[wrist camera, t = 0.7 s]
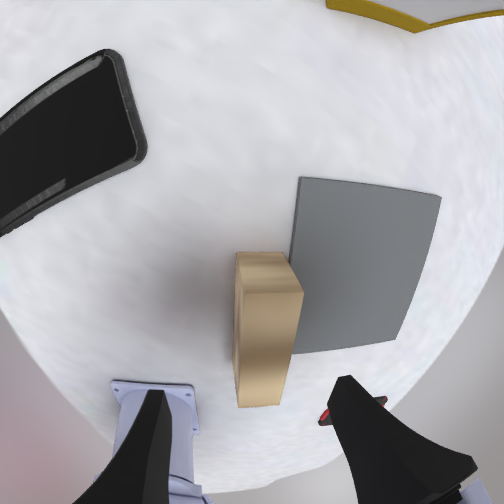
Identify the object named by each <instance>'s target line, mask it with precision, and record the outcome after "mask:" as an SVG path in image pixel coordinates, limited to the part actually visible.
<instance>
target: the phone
mask: <svg viewBox="0 0 504 504" xmlns="http://www.w3.org/2000/svg"><path fill="white" fill-rule="evenodd" d="M142 131H143V128H142V124H141V121H140V118H139V115H138V111H137V108H136V104H135V101H134V97H133V94H132V90H131V87H130V83H129V79H128V76H127V72H126V68H125V64H124V60H123V58H122V56H121V55H119V54H118V53H117V52H116V51H114V50H111V49H102V50H100V51H97V52H95V53H93V54H91V55H90V56H88V57H86V58H84V59H82V60H81V61H79V62H77V63H75V64H74V65H72V66H70V67H69V68H67V69H65V70H64V71H62V72H61V73H59V74H57V75H56V76H54V77H53V78H51V79H50V80H48V81H47V82H45V83H44V84H42V85H41V86H40V87H38V88H37V89H35V90H34V91H33V92H31V93H30V94H29V95H27V96H26V97H25V98H24V99H22V100H21V101H20V102H19V103H17V104H16V105H15V106H14V107H12V108H11V109H10V110H9V111H8V112H6V113H5V114H4V115H3V116H2V117H1V118H0V237H2V236H3V235H5V234H6V233H7V234H8V233H10V232H11V231H13V229H14V228H15V229H16V228H18V227H19V226H21V225H23V224H24V222H25V223H26V222H28V221H30V220H32V219H33V217H34V216H35V215H37V214H39V213H41V212H42V211H44V210H46V209H48V208H49V207H51V206H53V205H55V204H57V203H59V202H60V201H62V200H64V199H66V198H68V197H70V196H72V195H74V194H76V193H78V192H80V191H82V190H84V189H86V188H88V187H90V186H92V185H94V184H96V183H99V182H101V181H103V180H105V179H107V178H110V177H112V176H114V175H116V174H119V173H121V172H123V171H126V170H128V169H130V168H132V167H134V166H136V165H138V164H140V163H141V161H142V160H143V159H144V158H145V156H146V153H147V147H148V146H147V140H146V137H145V134H144V131H143V132H142Z"/></svg>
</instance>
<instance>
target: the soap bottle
mask: <svg viewBox="0 0 504 504" xmlns="http://www.w3.org/2000/svg"><path fill="white" fill-rule="evenodd" d="M326 5H327V8H329V9H334V10H339V11H344V12H348V13H352V14H356V15H360V16H364V17H368V18H371V19H374V20H378V21H381V22H384V23H387V24H390V25H393V26H396V27H399V28H402V29H405V30H407V31H410V32H412V33H418V32H421V31H425V30H428V29H432V28H436V27H440V26H444V25H448V24H452V23H457V22H462V21H467V20H473V19H478V18H485V17H492V16H501V15H504V0H326Z"/></svg>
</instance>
